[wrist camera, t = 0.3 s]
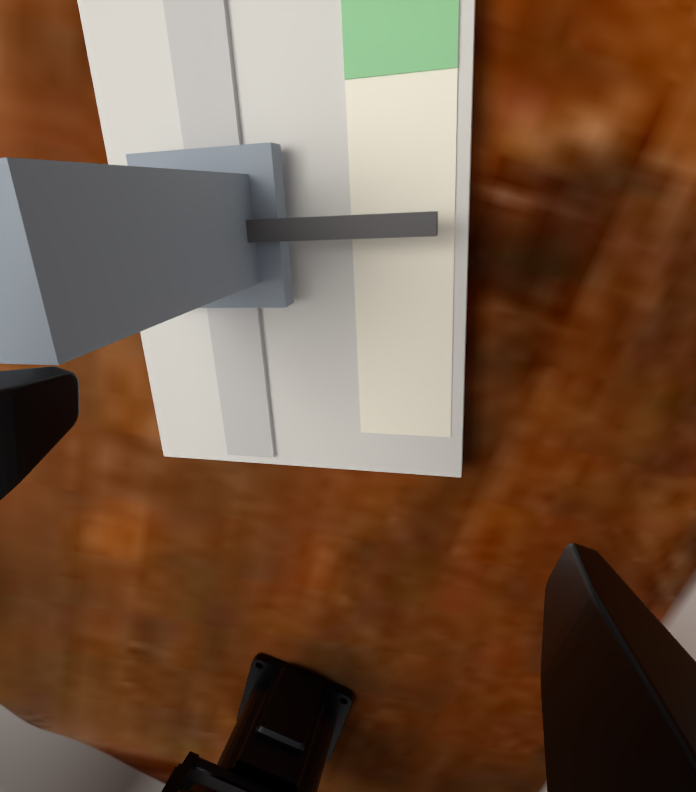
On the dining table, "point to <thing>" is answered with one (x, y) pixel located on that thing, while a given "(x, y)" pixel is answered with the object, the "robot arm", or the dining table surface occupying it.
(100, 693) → the dining table surface
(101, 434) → the dining table surface
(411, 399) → the gauge board
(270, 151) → the tuning slider
